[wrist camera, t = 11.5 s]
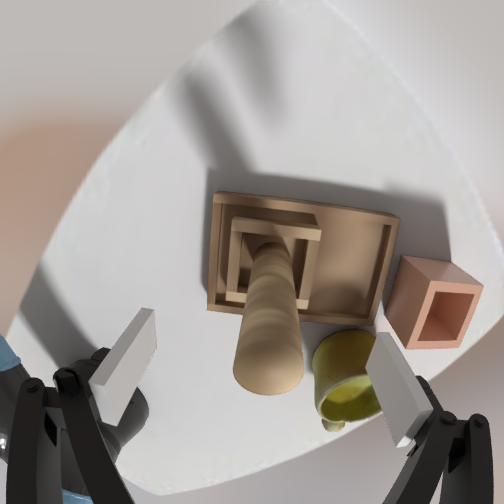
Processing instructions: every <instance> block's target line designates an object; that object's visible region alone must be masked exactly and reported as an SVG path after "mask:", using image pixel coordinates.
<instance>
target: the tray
mask: <svg viewBox="0 0 504 504" xmlns="http://www.w3.org/2000/svg"><path fill="white" fill-rule="evenodd" d="M399 223H400V218H398V217H396V216H394V215H393V214H388V213H382V212H376V211H370V210H364V209H358V208H352V207H345V206H339V205H332V204H325V203H318V202H311V201H303V200H295V199H288V198H279V197H271V196H262V195H253V194H243V193H233V192H223V191H217V192H215V193H214V194H213V207H212V221H211V236H210V253H209V272H208V294H207V310H209V311H216V312H224V313H232V314H240V315H243V312H244V307H245V302H246V297H247V291H248V286H249V281H250V275H251V270H252V265H253V260H254V255H255V252H256V250H257V249H258V248H259V247H260V246H261V245H263V244H265V243H268V242H276V243H280V244H282V245H283V246H284V247H286V248H287V250H288V251H289V254H290V258H291V265H292V272H293V279H294V287H295V295H296V302H297V310H298V318H299V321H307V322H319V323H332V324H347V325H365V326H373V323H374V320H375V317H376V313H377V310H378V307H379V304H380V300H381V297H382V293H383V290H384V286H385V283H386V279H387V275H388V271H389V267H390V263H391V259H392V255H393V251H394V247H395V242H396V238H397V233H398V228H399Z"/></svg>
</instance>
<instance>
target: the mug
mask: <svg viewBox="0 0 504 504" xmlns="http://www.w3.org/2000/svg"><path fill="white" fill-rule="evenodd" d="M375 340H376V338H375V337H374V336H373V335H372V334H371V333H369V332H367V331H363V330H360V329H353V330H344V331H340V332H338V333H336V334H333V335H331V336H329V337H327V338H325V339H324V340H323V341H322V342H321V343H320V344H319V346H318V348H317V349H316V351H315V353H314V356H313V361H312V367H313V371H314V380H315V396H314V397H315V407H316V409H317V412H318V414H319V415H320V417H321V418H322V424H323V426H324V428H325V430H327V431H329V432H338V431H340V430H341V429H342V428H343V427H344V426H345V422H351V423H353V422H357V421H362V420H365V419H369V418H372V417H374V416H376V415H378V414H379V413H381V412H382V409H381V406H380V404H379V401H378V398H377V396H376V393H375V391H374V388H373V386H372V383H371V381H370V378H369V376H368V373H367V371H366V368H365V367H366V364H367V361H368V359H369V356H370V354H371V351H372V348H373V345H374V343H375Z"/></svg>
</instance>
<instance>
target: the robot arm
mask: <svg viewBox="0 0 504 504" xmlns="http://www.w3.org/2000/svg"><path fill="white" fill-rule="evenodd" d="M156 349H157V344H156V331H155V317H154V310H152V309H146V308H141V310H140V311H139V312H138V314H137V315H136V316H135V318H134V319H133V320H132V322H131V323H130V324H129V326H128V327H127V328H126V330H125V331H124V332H123V334H122V335H121V336H120V338H119V339H118V341H117V342H116V343H115V345H114V346H113V347H112V349H108V348H104V347H102V348H101V349H99V350H98V351H96V352H95V353H94V354H93V356H92V357H91V359H89V360H79V361H76V362H74V363H73V364H72V365H71V366H70V367H65V368H61V369H59V370H58V371H56V372H55V373H54V375H53V382H54V384H55V387H56V388H54V387H45V385H44V383H43V382H42V380H40V379H39V378H34V377H33V378H31V376H30V375H29V374H28V372H27V371H26V370H25V368H24V367H23V365H22V364H21V360H20V358H19V357H18V356H16V355H15V353H14V352H13V350H12V349H11V348H10V346H9V345H8V343H7V342H6V340H5V339H4V337H3V336H2V335H1V334H0V458H1V459H3V460H4V461H5V462H6V463H7V464H8V467H7V483H6V504H135V502H134V500H133V499H132V497H131V495H130V493H129V491H128V489H127V488H126V486H125V484H124V482H123V480H122V478H121V476H120V474H119V472H118V470H117V468H116V465H115V462H116V460H117V457H118V455H119V453H120V450H121V448H122V447H123V446H124V445H125V444H126V443H127V442H128V441H130V440H131V439H132V438H133V437H134V436H135V435H136V434H137V433H138V432H139V431H140V430H141V429H142V428H143V426H144V425H145V422H146V420H147V418H148V415H149V408H148V405H147V402H146V400H145V398H144V397H143V395H142V394H141V392H140V391H139V390H138V389H137V388H136V387H137V385H138V383H139V381H140V379H141V377H142V375H143V373H144V371H145V370H146V368H147V366H148V364H149V362H150V360H151V358H152V356H153V354H154V352H155V350H156ZM365 368H366V371H367V373H368V376H369V378H370V381H371V383H372V386H373V388H374V391H375V393H376V396H377V398H378V401H379V404H380V406H381V409H382V411H383V414H384V417H385V419H386V422H387V425H388V428H389V430H390V433H391V436H392V439H393V441H394V444H395V447H402V446H408V445H409V444H410V443H411V441H412V440H413V439H415V442H416V445H415V446H414V447H413V448H412V450H411V451H410V452H409V453H408V455H407V456H409V457H408V459H407V461H406V463H405V465H404V467H403V469H402V471H401V472H400V474H399V476H398V478H397V480H396V482H395V483H394V485H393V487H392V488H391V490H390V492H389V494H388V495H387V497H386V498H385V500H384V502H383V503H382V504H429V503H430V501H431V499H432V496H433V494H434V492H435V490H436V487H437V485H438V482H439V480H440V477H441V475H442V472H443V479H442V488H441V495H440V502H439V504H493V494H494V493H493V492H494V490H493V488H494V485H493V484H494V483H493V458H492V447H491V436H490V428H489V423H488V420H487V419H486V417H484V416H483V415H480V414H473V415H472V416H471V417H470V418H469V420H457V418H456V416H455V415H454V414H452V413H451V412H448V411H444V410H443V409H442V407H441V405H440V403H439V402H438V400H437V398H436V396H435V395H434V394H433V391H432V389H430V386H429V384H428V383H427V381H426V380H425V379H424V378H423V377H421V376H415V375H414V373H413V371H412V369H411V368H410V366H409V364H408V363H407V361H406V359H405V358H404V356H403V354H402V352H401V351H400V349H399V348H398V346H397V344H396V343H395V341H394V339H393V338H392V336H391V334H390V333H389V332H378V334H377V337H376V340H375V343H374V345H373V348H372V351H371V354H370V356H369V359H368V361H367V364H366V367H365Z"/></svg>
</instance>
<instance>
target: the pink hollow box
mask: <svg viewBox="0 0 504 504" xmlns="http://www.w3.org/2000/svg"><path fill="white" fill-rule="evenodd" d="M483 287H484V285H482V284H481V283H480V282H478V281H477V280H476V279H474V278H473V277H472V276H470V275H469V274H468V273H466V272H465V271H463V270H462V269H461V268H459V267H458V266H457V265H455V264H454V263H452V262H448V261H440V260H433V259H426V258H419V257H411V256H404V255H401V260H400V263H399V267H398V271H397V275H396V279H395V282H394V286H393V289H392V293H391V296H390V299H389V303H388V306H387V309H386V312H385V317H386V318H387V320H388V321H389V323H390V325H391V326H392V328H393V329H394V331H395V333H396V334H397V336H398V337H399V339H400V341H401V342H402V344H403V346H404V347H405V349H443V348H459V346H460V344H461V342H462V340H463V338H464V335H465V333H466V331H467V329H468V326H469V324H470V321H471V319H472V317H473V314H474V312H475V309H476V306H477V304H478V301H479V298H480V295H481V293H482V290H483Z"/></svg>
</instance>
